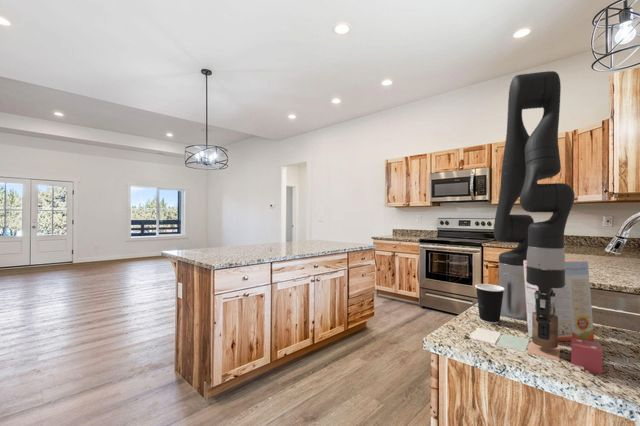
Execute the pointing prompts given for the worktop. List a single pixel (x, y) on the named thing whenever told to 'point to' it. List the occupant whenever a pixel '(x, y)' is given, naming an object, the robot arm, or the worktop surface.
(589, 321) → the cracker box
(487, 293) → the dixie cup
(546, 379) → the worktop surface
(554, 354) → the board
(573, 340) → the die
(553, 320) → the pawn
